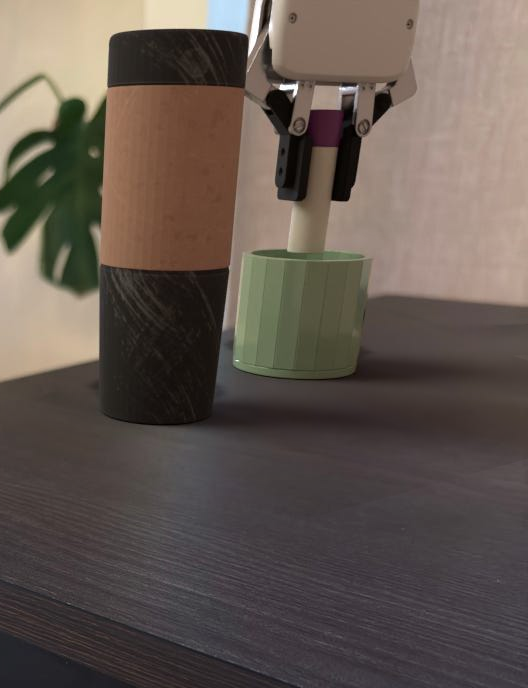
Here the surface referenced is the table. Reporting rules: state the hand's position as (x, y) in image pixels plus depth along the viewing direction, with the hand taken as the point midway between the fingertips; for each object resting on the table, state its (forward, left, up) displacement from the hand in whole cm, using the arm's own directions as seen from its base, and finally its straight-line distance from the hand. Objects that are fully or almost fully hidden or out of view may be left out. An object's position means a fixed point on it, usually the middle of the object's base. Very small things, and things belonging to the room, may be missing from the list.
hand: (312, 197), depth 67 cm
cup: (0, 0, -12) cm, 12 cm away
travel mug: (+15, +11, -12) cm, 22 cm away
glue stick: (0, 0, -4) cm, 4 cm away
